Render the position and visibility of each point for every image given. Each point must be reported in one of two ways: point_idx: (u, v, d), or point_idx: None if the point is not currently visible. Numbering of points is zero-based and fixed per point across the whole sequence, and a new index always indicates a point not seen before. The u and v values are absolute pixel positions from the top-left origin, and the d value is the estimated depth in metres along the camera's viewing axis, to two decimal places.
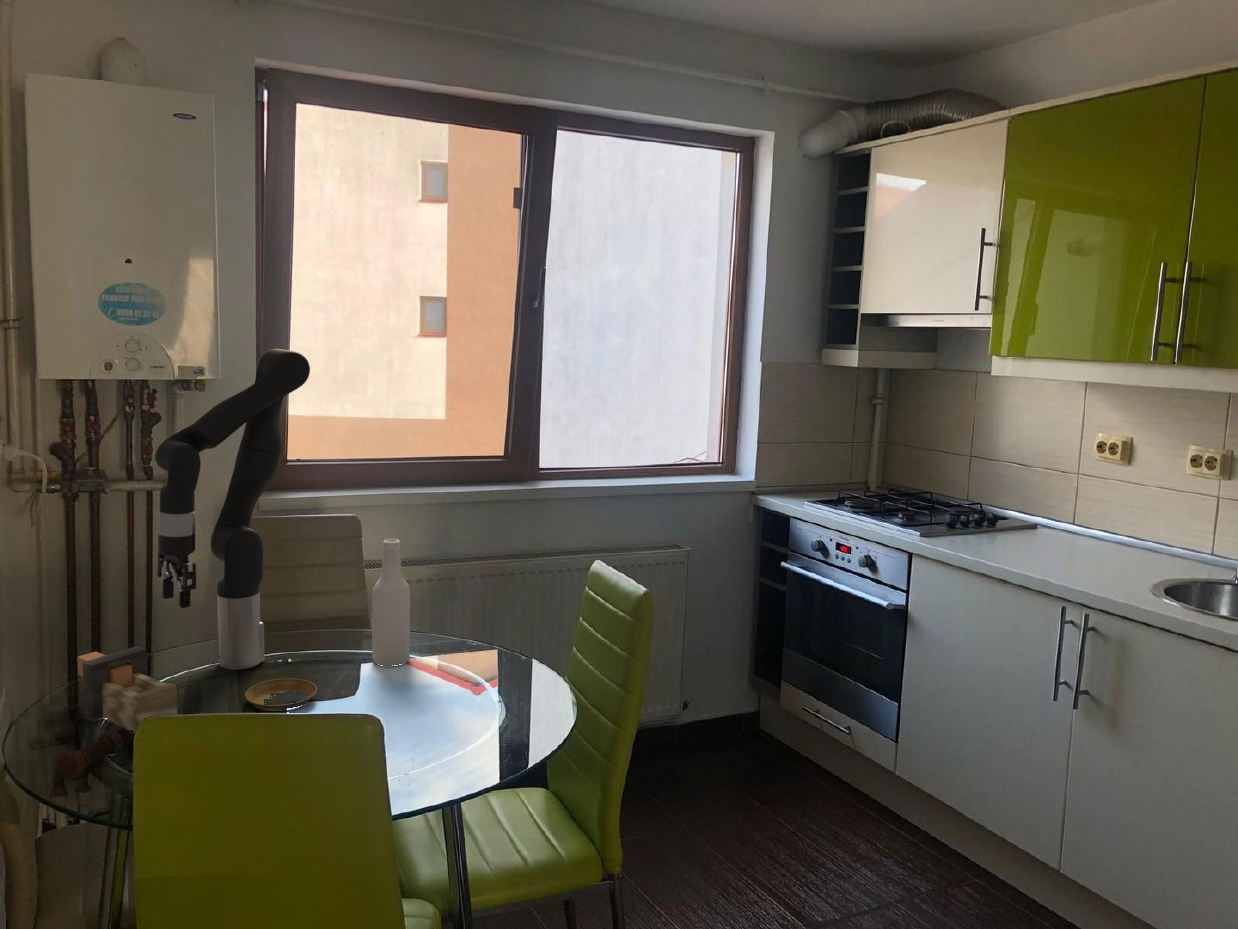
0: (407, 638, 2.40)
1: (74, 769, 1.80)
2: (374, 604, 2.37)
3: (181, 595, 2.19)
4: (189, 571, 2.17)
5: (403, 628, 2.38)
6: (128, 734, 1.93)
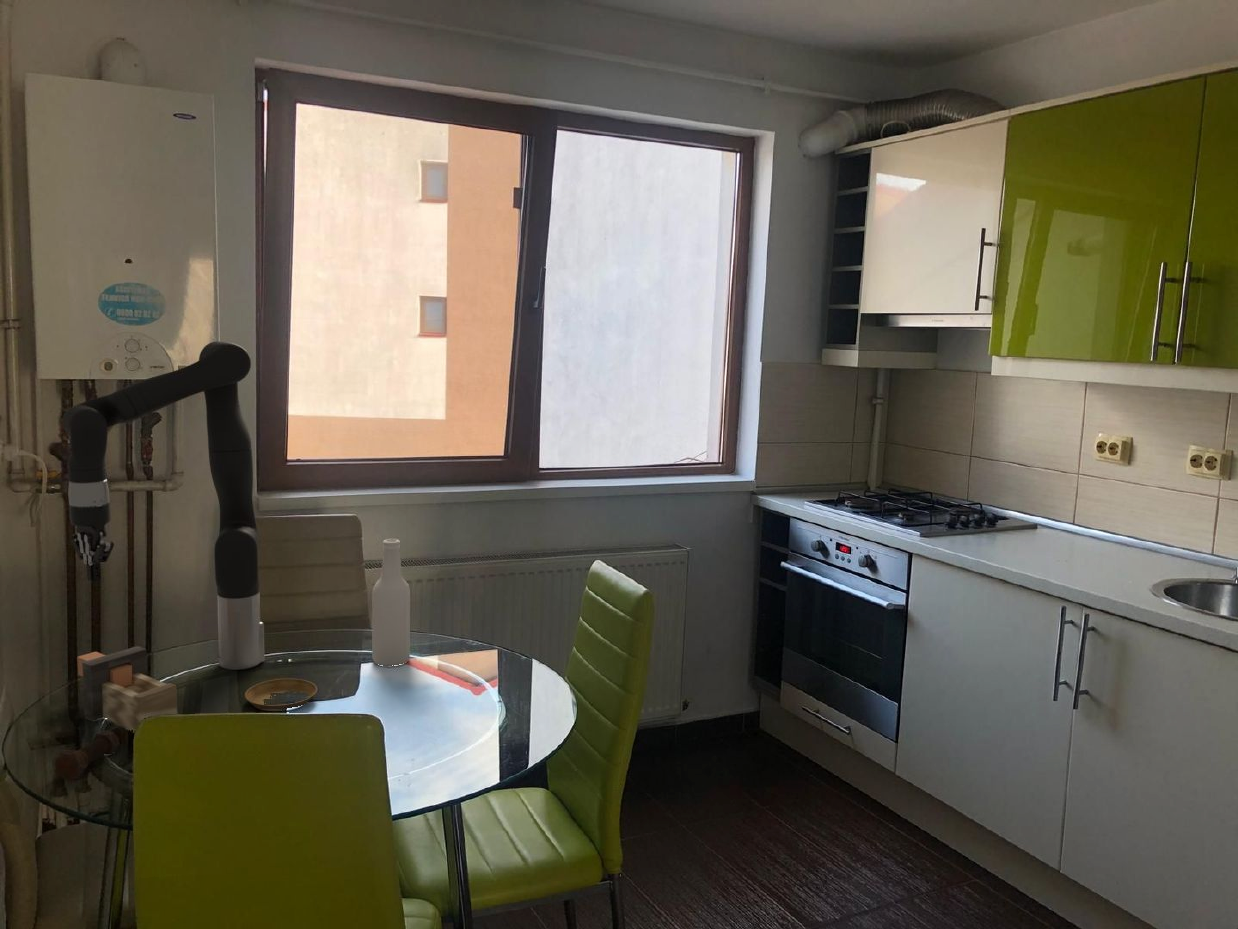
0: (407, 638, 2.40)
1: (74, 769, 1.80)
2: (374, 604, 2.37)
3: None
4: None
5: (403, 628, 2.38)
6: (123, 733, 1.93)
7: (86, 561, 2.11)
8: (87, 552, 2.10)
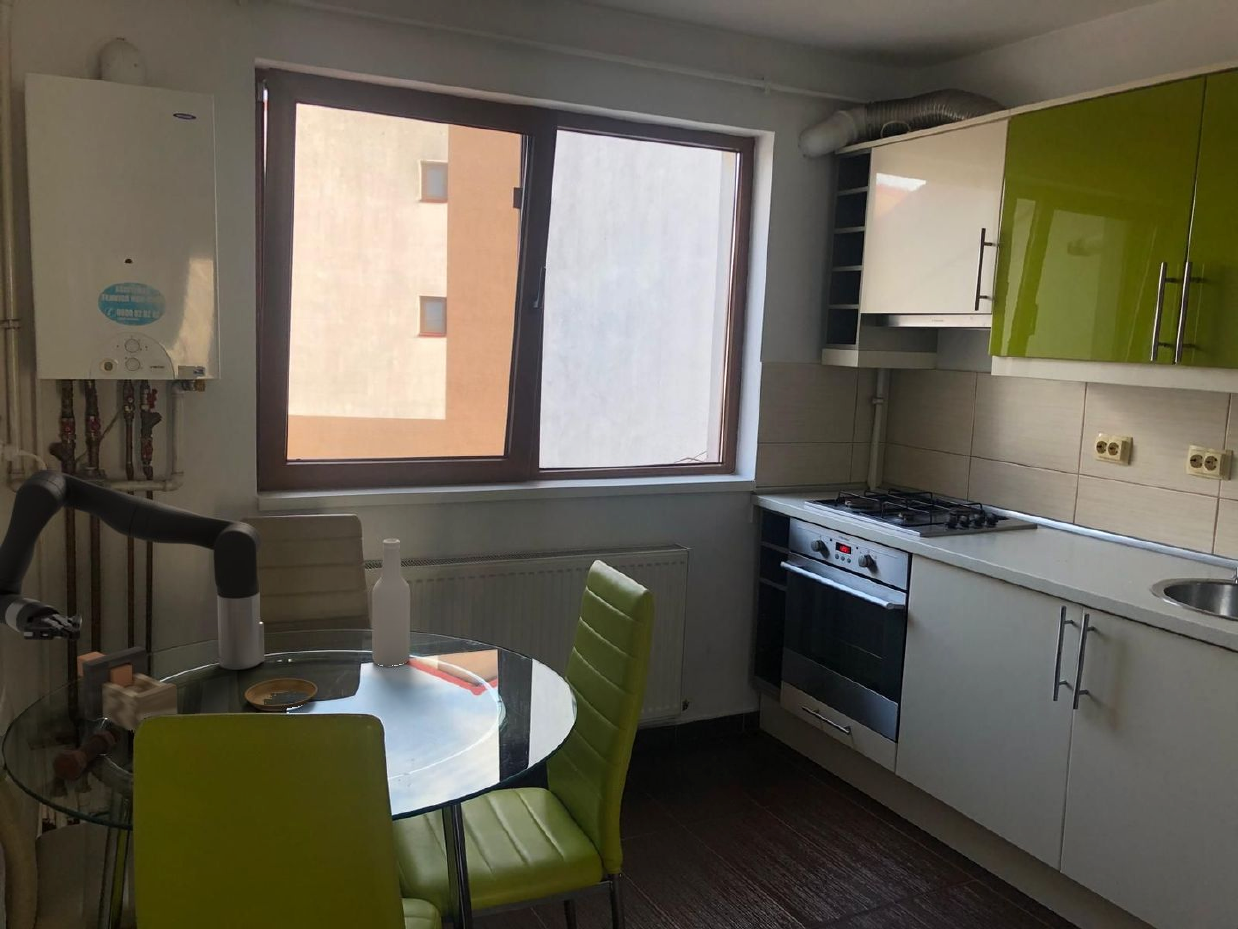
0: (407, 638, 2.40)
1: (73, 769, 1.79)
2: (374, 604, 2.37)
3: None
4: (80, 620, 2.22)
5: (403, 628, 2.38)
6: (117, 733, 1.93)
7: None
8: None
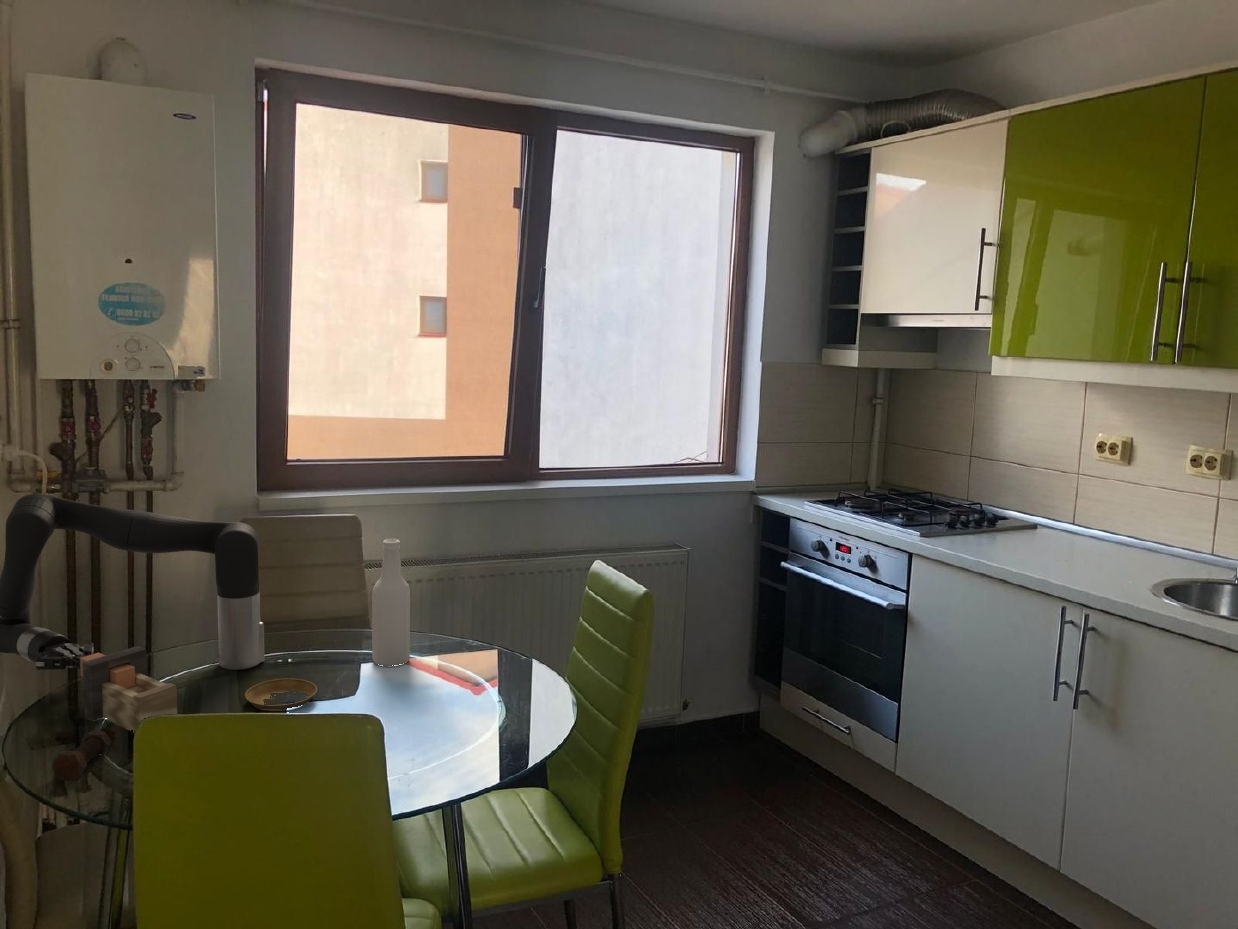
0: (407, 638, 2.40)
1: (74, 769, 1.79)
2: (374, 604, 2.37)
3: None
4: (92, 649, 2.20)
5: (403, 628, 2.38)
6: (112, 733, 1.93)
7: None
8: None
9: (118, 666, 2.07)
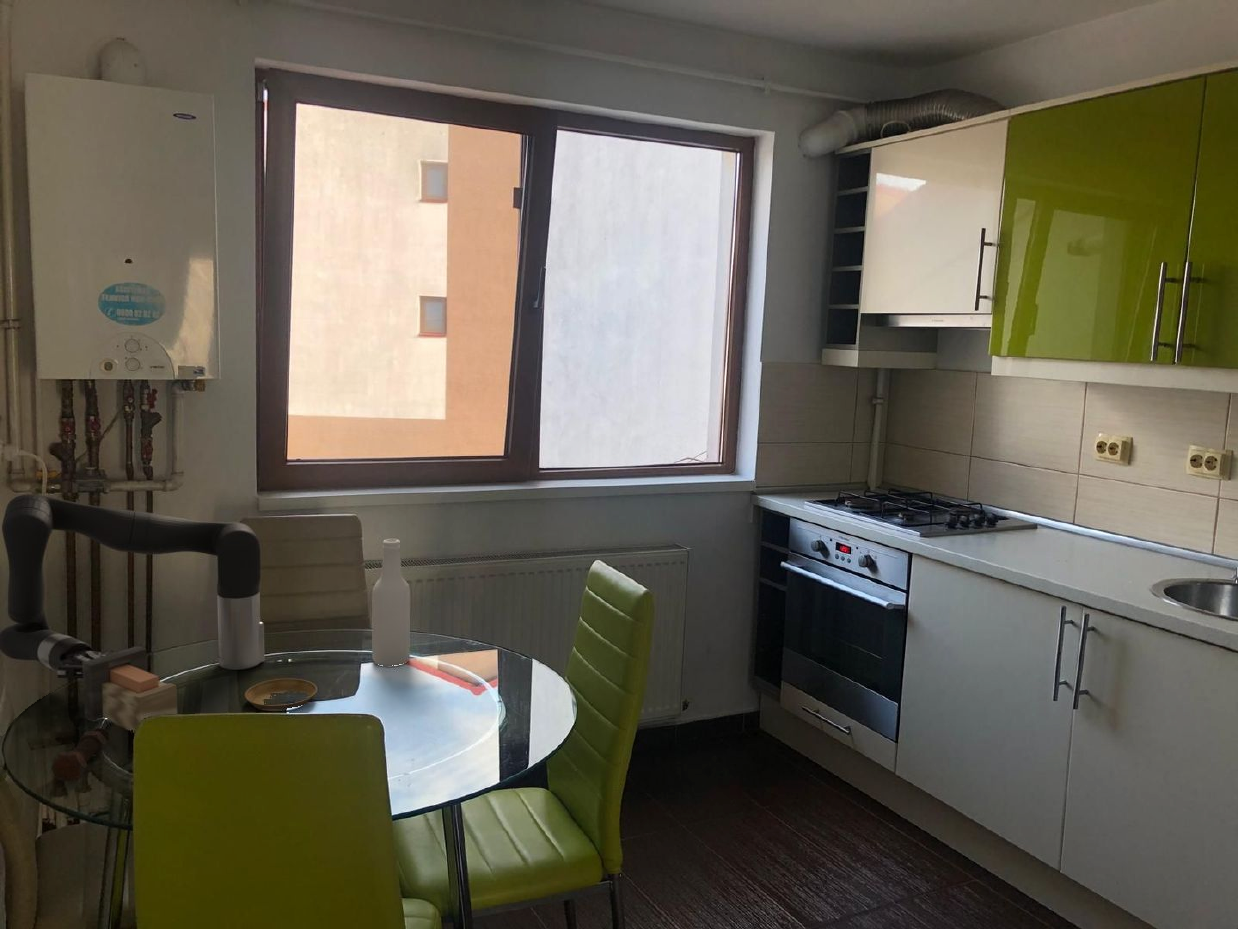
0: (407, 638, 2.40)
1: (75, 769, 1.79)
2: (374, 604, 2.37)
3: None
4: None
5: (403, 628, 2.38)
6: (106, 733, 1.93)
7: None
8: None
9: (141, 675, 2.02)
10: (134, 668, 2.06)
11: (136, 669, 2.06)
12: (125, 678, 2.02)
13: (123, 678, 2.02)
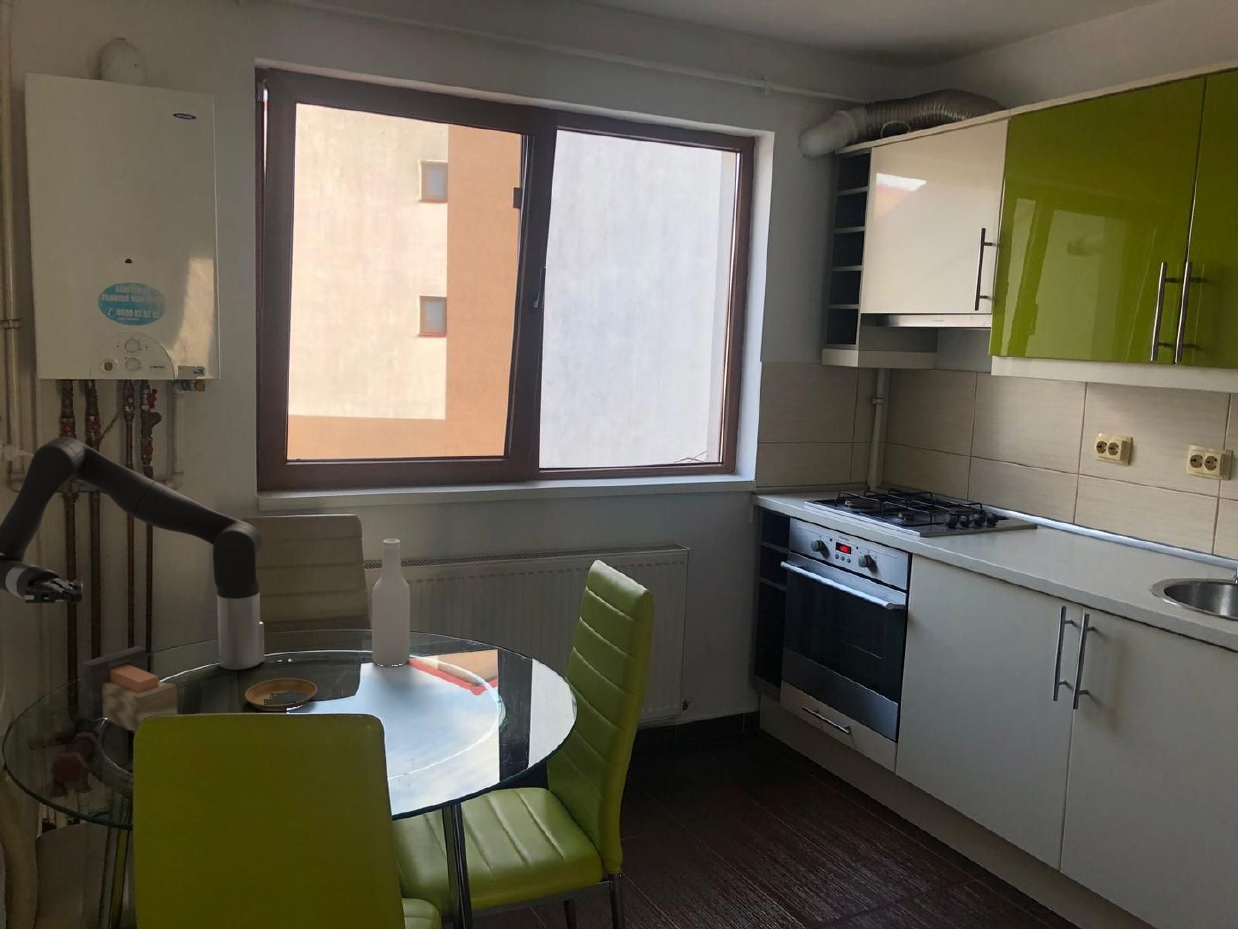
0: (407, 638, 2.40)
1: (76, 770, 1.79)
2: (374, 604, 2.37)
3: None
4: (81, 584, 2.20)
5: (403, 628, 2.38)
6: (96, 733, 1.92)
7: None
8: None
9: (141, 675, 2.03)
10: (134, 668, 2.06)
11: (136, 669, 2.06)
12: (125, 678, 2.02)
13: (123, 678, 2.02)
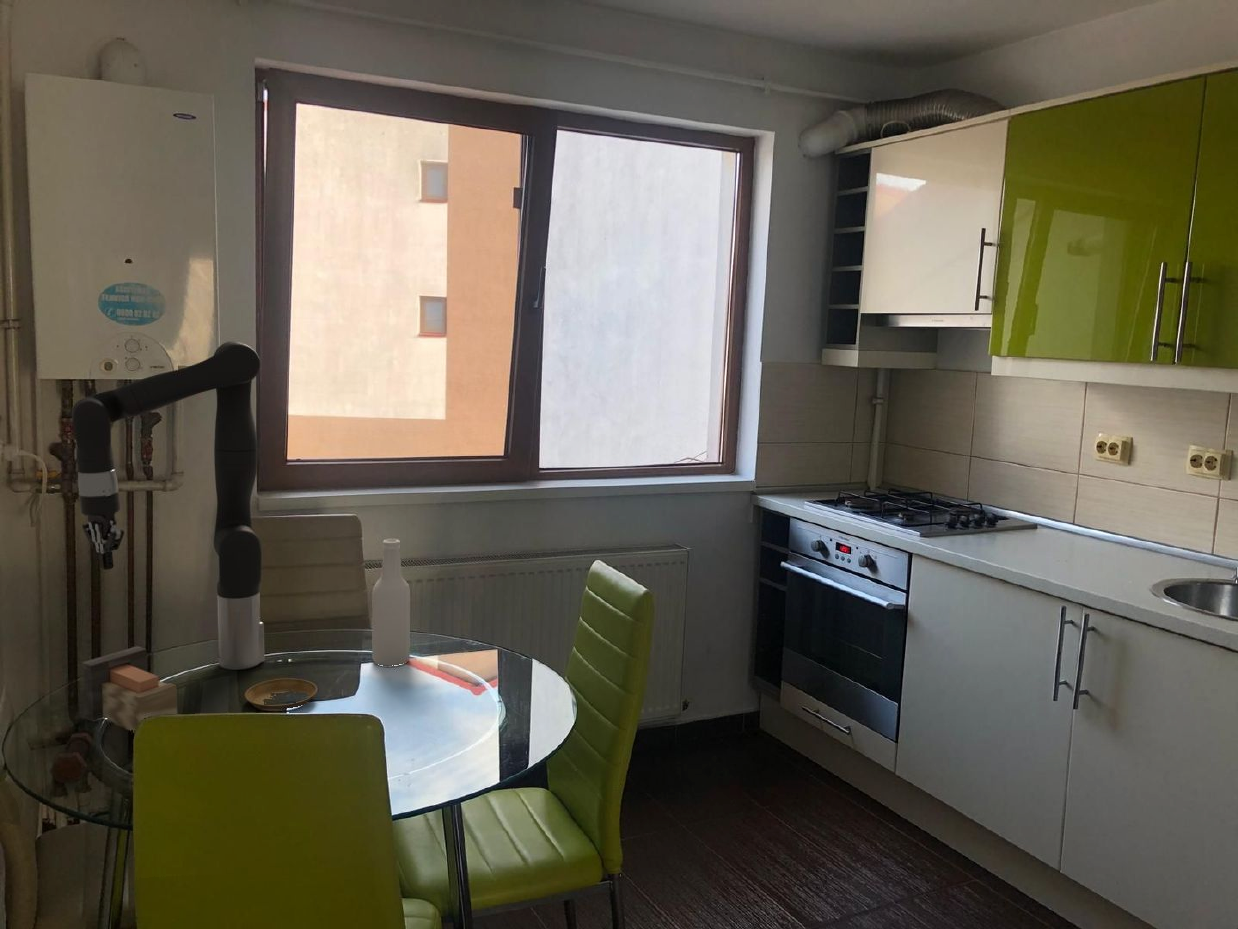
0: (407, 638, 2.40)
1: (76, 770, 1.79)
2: (374, 604, 2.37)
3: None
4: None
5: (403, 628, 2.38)
6: (90, 734, 1.92)
7: (98, 549, 2.17)
8: (99, 540, 2.15)
9: (141, 675, 2.03)
10: (134, 668, 2.06)
11: (136, 669, 2.06)
12: (125, 678, 2.02)
13: (123, 678, 2.02)
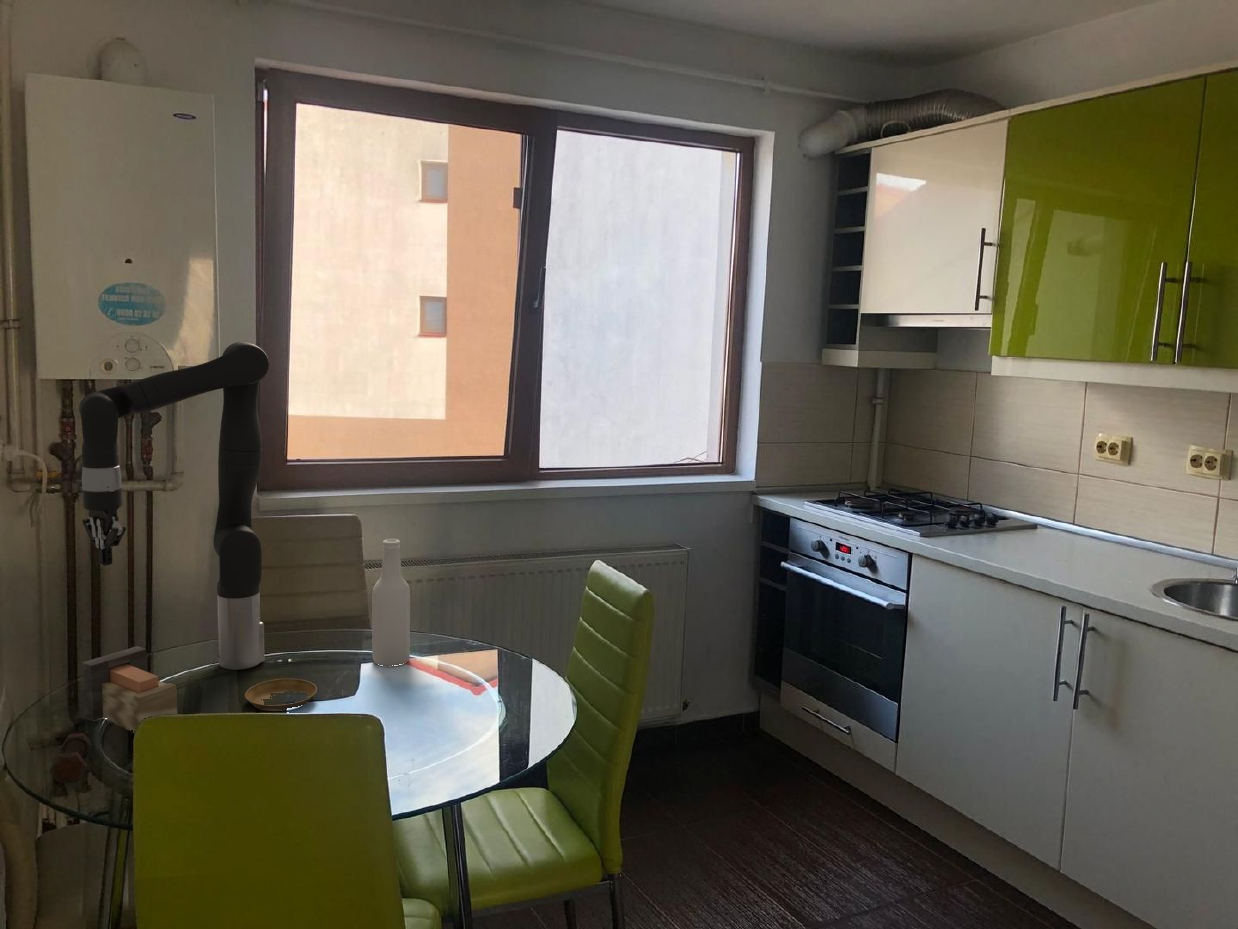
0: (407, 638, 2.40)
1: (76, 770, 1.79)
2: (374, 604, 2.37)
3: None
4: None
5: (403, 628, 2.38)
6: (86, 734, 1.92)
7: (98, 545, 2.17)
8: (99, 536, 2.15)
9: (141, 675, 2.03)
10: (134, 668, 2.06)
11: (136, 669, 2.06)
12: (125, 678, 2.02)
13: (123, 678, 2.02)
